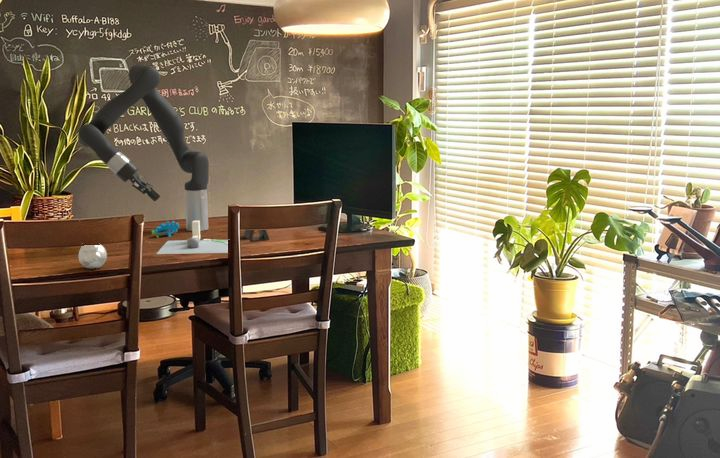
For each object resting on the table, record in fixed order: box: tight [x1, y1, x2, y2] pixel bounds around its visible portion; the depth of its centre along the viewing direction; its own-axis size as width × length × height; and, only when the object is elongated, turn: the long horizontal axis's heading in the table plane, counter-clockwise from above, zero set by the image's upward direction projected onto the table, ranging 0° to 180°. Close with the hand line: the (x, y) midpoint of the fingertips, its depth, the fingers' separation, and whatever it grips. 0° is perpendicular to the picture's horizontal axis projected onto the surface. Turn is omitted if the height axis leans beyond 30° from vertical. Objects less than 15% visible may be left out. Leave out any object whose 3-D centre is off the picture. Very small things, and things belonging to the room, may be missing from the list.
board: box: [156, 238, 229, 255], centre depth 266 cm, size 25×26×2 cm
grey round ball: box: [78, 243, 108, 270], centre depth 235 cm, size 9×10×10 cm
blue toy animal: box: [151, 220, 180, 239], centre depth 285 cm, size 11×6×10 cm
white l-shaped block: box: [186, 220, 201, 248], centre depth 269 cm, size 16×4×8 cm, turn 5°
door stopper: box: [243, 229, 270, 242], centre depth 283 cm, size 9×6×12 cm, turn 117°
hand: (157, 198), depth 270 cm, fingers open, 2 cm apart
